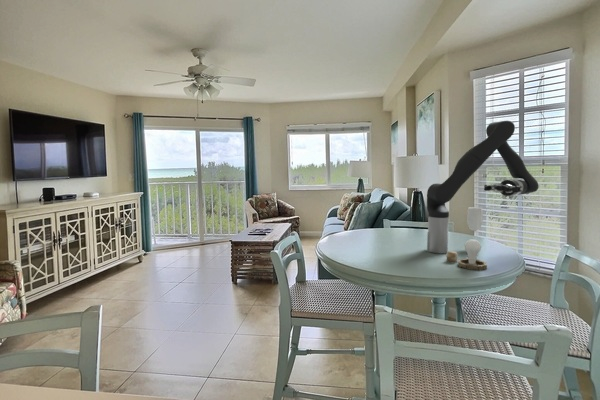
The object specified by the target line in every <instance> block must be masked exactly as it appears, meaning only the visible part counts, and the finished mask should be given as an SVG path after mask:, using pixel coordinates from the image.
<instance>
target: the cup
mask: <svg viewBox="0 0 600 400" xmlns="http://www.w3.org/2000/svg"><path fill="white" fill-rule="evenodd" d="M483 221H484V213H483V207H479V206H478V207H476V206H474V207H473V206H469V207H468V209H467V212H466V223H467V227H468V228H469V229H470V230H471V231H472V232H477V231H478V230H480V229H481V227H482V226H483V225H482V224H483Z"/></svg>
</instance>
